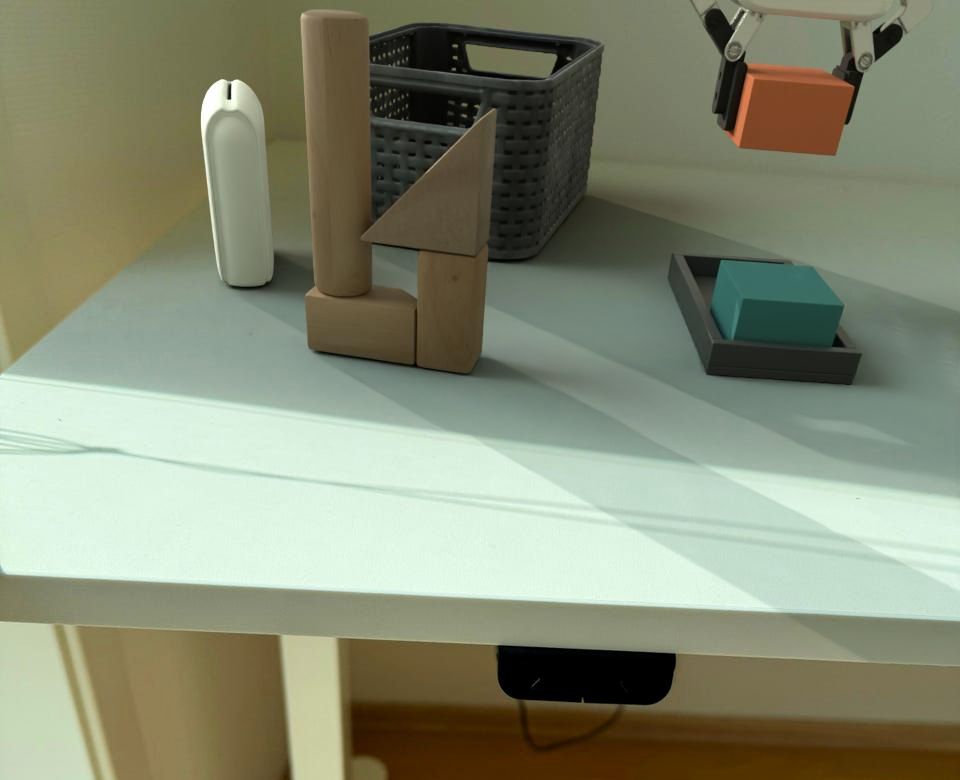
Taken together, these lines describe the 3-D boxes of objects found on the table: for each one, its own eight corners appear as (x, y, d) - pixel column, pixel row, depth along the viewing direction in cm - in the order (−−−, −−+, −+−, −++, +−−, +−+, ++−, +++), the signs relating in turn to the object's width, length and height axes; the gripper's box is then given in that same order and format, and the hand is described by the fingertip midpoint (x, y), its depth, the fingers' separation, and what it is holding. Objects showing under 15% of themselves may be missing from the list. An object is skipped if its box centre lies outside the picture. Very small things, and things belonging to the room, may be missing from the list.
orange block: (806, 132, 67) (822, 69, 65) (835, 156, 61) (855, 86, 58) (717, 125, 67) (731, 61, 64) (738, 148, 61) (753, 78, 58)
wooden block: (470, 376, 57) (489, 32, 46) (306, 352, 59) (285, 11, 47) (482, 355, 60) (503, 25, 49) (326, 332, 61) (311, 6, 50)
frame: (667, 278, 75) (672, 251, 74) (783, 286, 75) (790, 259, 74) (706, 374, 60) (713, 342, 58) (852, 384, 60) (862, 353, 59)
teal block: (797, 322, 67) (813, 266, 64) (826, 366, 60) (845, 305, 58) (708, 316, 67) (720, 259, 64) (728, 359, 60) (742, 297, 58)
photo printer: (219, 246, 74) (200, 68, 66) (274, 247, 75) (260, 70, 67) (215, 289, 66) (192, 93, 59) (276, 289, 67) (261, 95, 59)
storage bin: (529, 268, 75) (546, 77, 66) (309, 235, 78) (299, 49, 70) (592, 190, 96) (610, 39, 88) (417, 167, 100) (419, 19, 91)
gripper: (984, -202, 55) (882, 131, 67) (699, -227, 55) (645, 112, 66) (1039, -214, 50) (918, 153, 61) (721, -243, 49) (658, 132, 61)
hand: (776, 129), depth 63 cm, fingers closed on orange block, 6 cm apart
